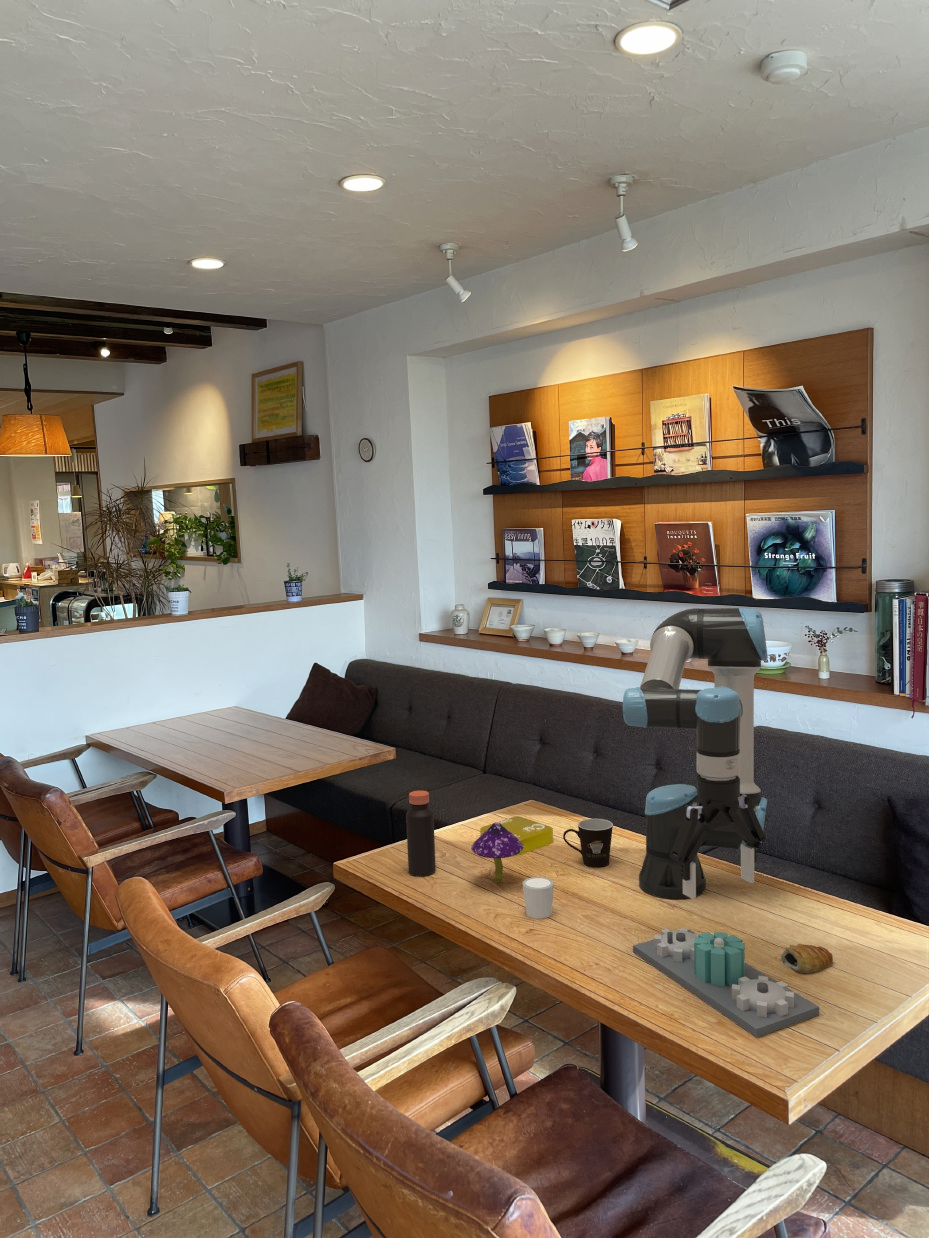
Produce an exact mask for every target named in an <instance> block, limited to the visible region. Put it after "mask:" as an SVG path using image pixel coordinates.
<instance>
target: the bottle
mask: <svg viewBox="0 0 929 1238" xmlns="http://www.w3.org/2000/svg"><path fill="white" fill-rule="evenodd" d="M408 800H409V801H408V802H409V806H410V808H409V809H408V811H407V812H406V814H405V818H406V819H405V822H406V844H407V845H406V846H407V864H408V865H407V867H408V869H407V870H408V873H409V874H410V875H411V876H414V877H428V876H432V875H433V874H434V873H435V872H436V871H437V868H436V863H437V862H436V844H435V820H434V819H435V818H434V811H433V810H432V809H431V807H429V804H430V793H429V791H426V790H413V791H410V792H409V794H408Z"/></svg>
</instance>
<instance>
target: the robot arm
mask: <svg viewBox="0 0 929 1238" xmlns="http://www.w3.org/2000/svg"><path fill="white" fill-rule="evenodd" d="M766 639H767V638H766V633H765V626H764V619H763V615H762V612H761V611H760V610H758V609H756V608H744V607H732V608H731V607H722V608H721V607H719V608H718V607H715V608H699V607H697V608H696V607H694V608H687V609H684V610H680V611H678V612H676V613H674V614H672V615H670V616H668V617H667V618H666V619H664V620H663V621H662V622H661V623H659V625H658V626H657V627H656V628H655V629H654V631H653V633H652V636H651V638H650V642H649V649H650V655H649V659H648V662H647V665H646V666H645V671H644V674H643V676H642V679H641V682H640V686H636V687H629V688H626V689H625V690H624V693H623V700H622V716H623V721H624V723H625V724H626V725H627V726H631V727H641V728H643V729H644V728H659V729H660V728H661V729H662V728H663V729H682V730H683V729H685V730H696V772H697V776H696V787H695V786H694V785H691V784H684V783H683V784H682V783H676V784H668V785H667V784H666V785H662V786H659V787H656V788H654V789H652V790H650V791H649V792H648V793H647V795H646V796H645V797H646V798H645V809H644V814H645V846H646V847H645V855H644V859H643V861H642V865H641V870H639V871H640V872H639V873H638V885H639V886H638V887H639V888H640V889H641V890H642V891H643V892H645V893H647V894H648V895H651V896H654V897H659V898H662V899H673V900H677V899H678V900H680V899H684V900H685V899H692V900H694V899H697V896H700V895H701V894H704V892H705V891H706V884H707V883H706V880H707V879H706V876H705V873H704V869H703V867H702V864H701V861H700V859H699V855H698V852H699V850H700V848H701V847H707V848H709V847H711V848H721V849H722V848H723V849H732V850H737V851H740V879H741V880H744V881H746V882H748V883H750V884H754V883H755V864H756V862H757V850H758V849H761V848H762V843H764V842H765V841H766V839H767V838H766V835H765V833H764V828H765V819H766V812H767V805H768V799H767V798H765V797H764V796H762V797H761V792H762V791H761V788H760V787H759V786H758V785H757V784H756V783H755V782H754V778H755V777H754V775H755V774H754V773H755V772H754V766H755V765H754V760H755V759H754V757H755V754H754V753H755V751H754V750H755V749H754V748H755V747H754V745H755V743H754V742H755V741H754V738H755V737H754V735H755V734H754V733H755V732H754V731H755V730H754V729H755V728H754V724H755V723H754V722H755V721H754V719H755V718H754V714H755V710H754V709H755V708H754V707H755V706H754V705H755V704H754V700H755V698H754V695H755V694H754V693H755V683H754V682H755V675H756V674H757V673H758V672H759V671H760V669H762V661H766V660H767V661H768V658H769V657H768V649H767V641H766ZM691 659H693V660H694V659H698V660H707V668H708V669H709V670H710V672H712V673H713V675H714V682H713V683H714V686H713V687H709V688H704V689H687V688H686V689H684V688H683V689H681V688H680V685H681V681H682V678H683V674H684V669H685V665H686V662H687V661H688V660H691Z"/></svg>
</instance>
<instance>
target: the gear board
mask: <svg viewBox="0 0 929 1238" xmlns="http://www.w3.org/2000/svg"><path fill="white" fill-rule="evenodd" d="M699 934H702V932H695V931H693V930H691V929H688V928H684V927H679V928H678V930H670V929H669V928H665V929H662V930H661V931H660V934H659V935H658V934H654V936H653V939H651V940H647V941H644V942H641V943H637V944H634V945H632V953H633V954H634V955H636V956H638V957H639V958H641V959H642V960H644V961H645V962H646V963H648V964H649V965H651V966H652V967H654V968H655V969H656V970H658V971H659V972H661V973H662V974H664V975H665V976H667V977H668V978H669V979H671V980H672V981H673V982H675V983H677V984H678V985H679V986H681V988H684V989H685V990H687V991H689V992H690V993H691V994H693V995H694V996H696V997H697V998H698V999H700V1000H701V1001H703V1002H704V1003H705V1004H707V1005H708V1006H710V1007H711V1008H713V1009H715V1010H716V1011H717V1012H718V1013H721V1014H722V1015H723V1016H724V1017H726V1018H727V1019H729V1020H730V1021H732V1022H733V1023H734V1024H736V1025H737V1026H739V1027H740V1028H742V1029H743V1030H745V1031H747V1032H748V1033H749V1034H751V1035H752V1036H753V1037H755V1038H760V1037H762V1036H765V1035H768V1034H771V1033H774V1032H776V1031H779V1030H782V1029H784V1028H785V1029H786V1028H788V1027H790V1026H793V1025H796V1024H798V1023H801V1022H805V1021H807V1020H809V1019H812V1018H815V1017H818V1016H820V1006H818V1005H817V1004H815V1003H813V1002H812V1001H810V1000H809V999H808V998H805V997H803V996H801V995H800V994H798V993H797V992H795V991H793V990H792V989H790V988H789V985H788V984H787V983H785V982H784V981H782V980H780V981H776V980H775V979H773V978H771V977H770V976H768V975H767V974H765V973H764V972H761V971H760V970H758V969H756V968H755V967H753V966H751V964H750V965H749V964H748V963H746V962H745V975H744V977H742V978H739V979H738V984H736V985H735V984H732V986H730V985H729V984H727V983H725V986H718V985H711V981H709V982H703V981H702V980H700V979H699V978H697V977H696V974H694V941H695V937H698V935H699ZM714 946H715V947H724V941H723V939H722V938H716V939H715V940H714Z"/></svg>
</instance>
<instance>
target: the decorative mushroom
mask: <svg viewBox="0 0 929 1238" xmlns="http://www.w3.org/2000/svg"><path fill="white" fill-rule="evenodd" d="M498 822H499V821H496V822H493V823H491V824H492V825H491V826H490V827H489V828H488V829H487V830H486V831H485V832H484V833H483V834H482V835H481V836H479V837H478V838H477V839H476V840H474V842H473V843H472V845H471V848H470V849H471V850H472V852H473V854H475V855H476V856H479V857H482V858H487V859H492V860H493V862H494V867H495V869H494V872H495V873H494V882H495V884H502V883H503V871H504V866H503V861H502V859H504V858H510V857H514V856H518V855H517V854H519V853H520V852H521V851H522V850H523V848H524V845H523V844H522V843H521V842H520V841H519V840H518V839H517V837H516V836H515V835H513V834H512V833H511V832H510V831H509V830H507V829H506V828H505V827H503V826H502V825H501V824H500V823H498Z"/></svg>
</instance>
